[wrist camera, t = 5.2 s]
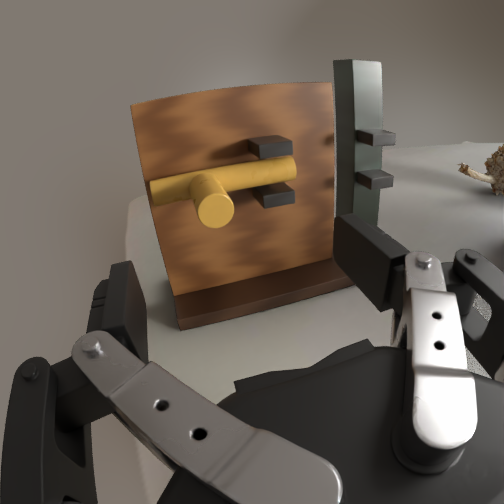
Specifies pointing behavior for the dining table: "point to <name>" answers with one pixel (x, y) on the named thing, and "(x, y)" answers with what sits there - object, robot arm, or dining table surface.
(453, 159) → the dining table surface
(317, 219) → the door
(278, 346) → the dining table surface
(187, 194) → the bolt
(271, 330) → the dining table surface
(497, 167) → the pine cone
